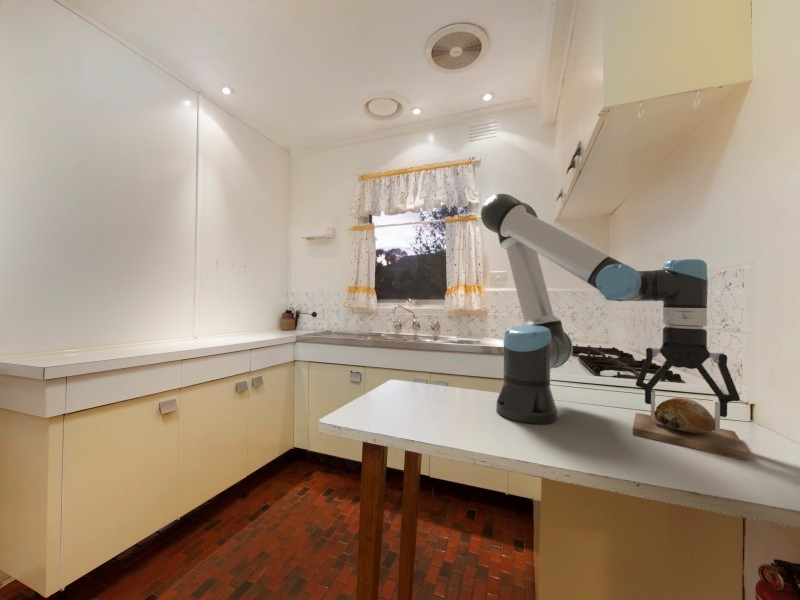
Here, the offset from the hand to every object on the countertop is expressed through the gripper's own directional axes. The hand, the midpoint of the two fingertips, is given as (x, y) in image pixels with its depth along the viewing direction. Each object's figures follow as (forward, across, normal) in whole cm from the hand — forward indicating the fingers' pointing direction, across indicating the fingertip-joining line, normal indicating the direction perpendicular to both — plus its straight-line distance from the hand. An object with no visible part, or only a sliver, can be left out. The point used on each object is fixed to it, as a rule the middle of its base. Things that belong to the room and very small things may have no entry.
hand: (683, 424), depth 72 cm
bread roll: (+1, 0, 0) cm, 1 cm away
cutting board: (+3, 0, 0) cm, 3 cm away
